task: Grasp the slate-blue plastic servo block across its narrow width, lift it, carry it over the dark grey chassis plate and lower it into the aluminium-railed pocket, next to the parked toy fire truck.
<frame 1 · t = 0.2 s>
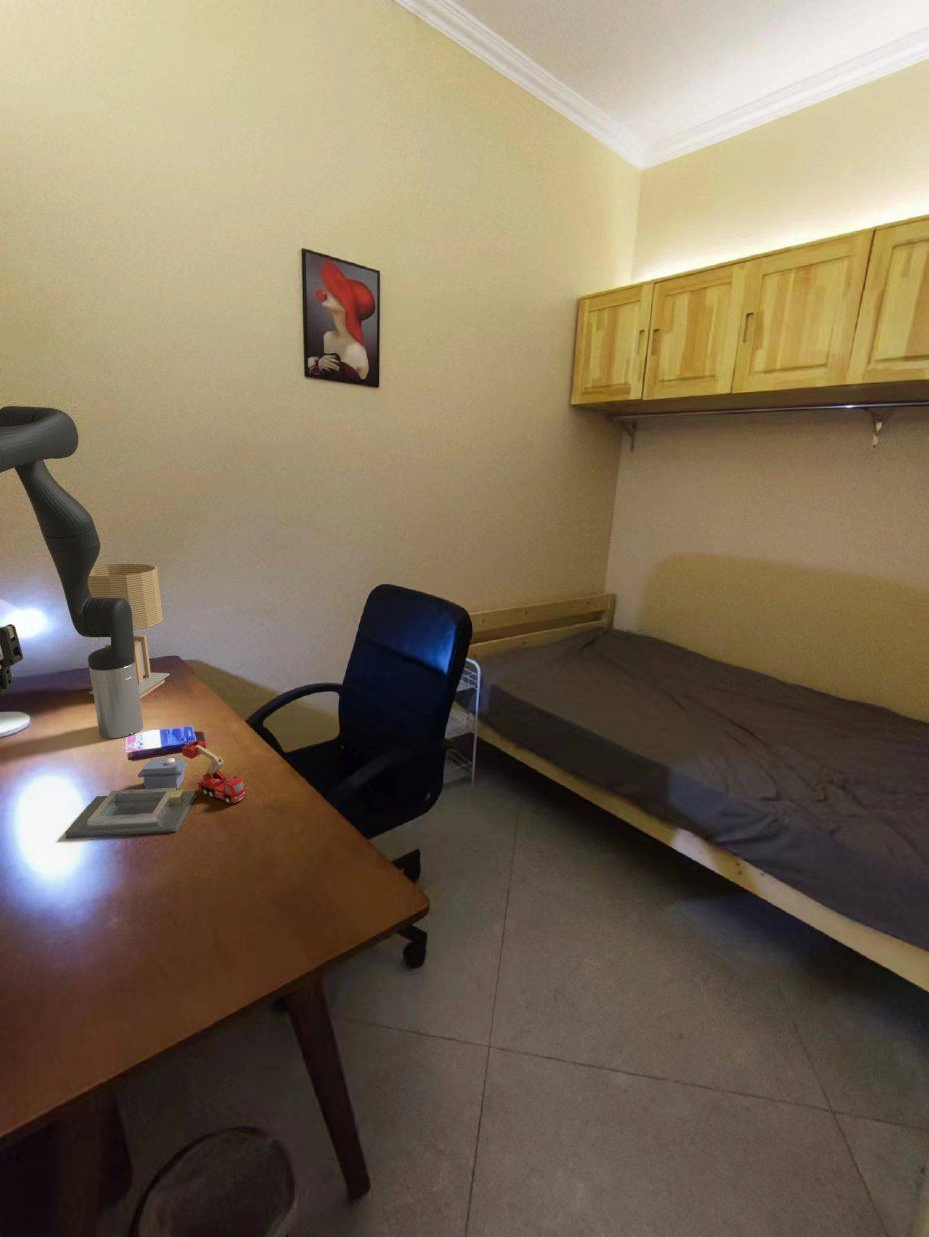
chassis: (135, 816, 101), on the table
toy fire truck: (216, 793, 109), on the table
desk lamp: (132, 690, 156), on the table
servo: (165, 784, 111), on the table
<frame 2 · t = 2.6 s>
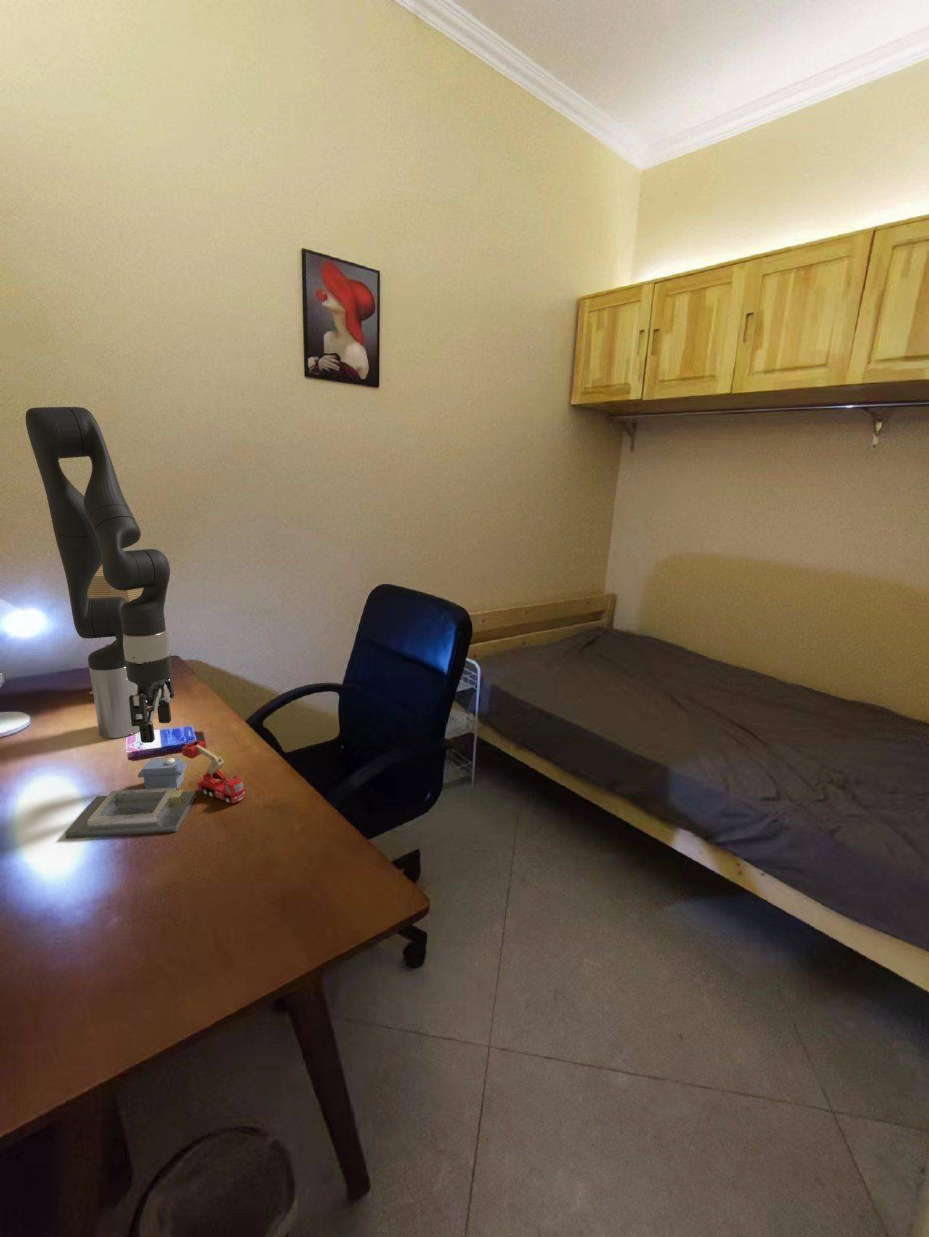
hand: (157, 731, 108), 12 cm above the table, fingers open, 8 cm apart
nothing on the table moved.
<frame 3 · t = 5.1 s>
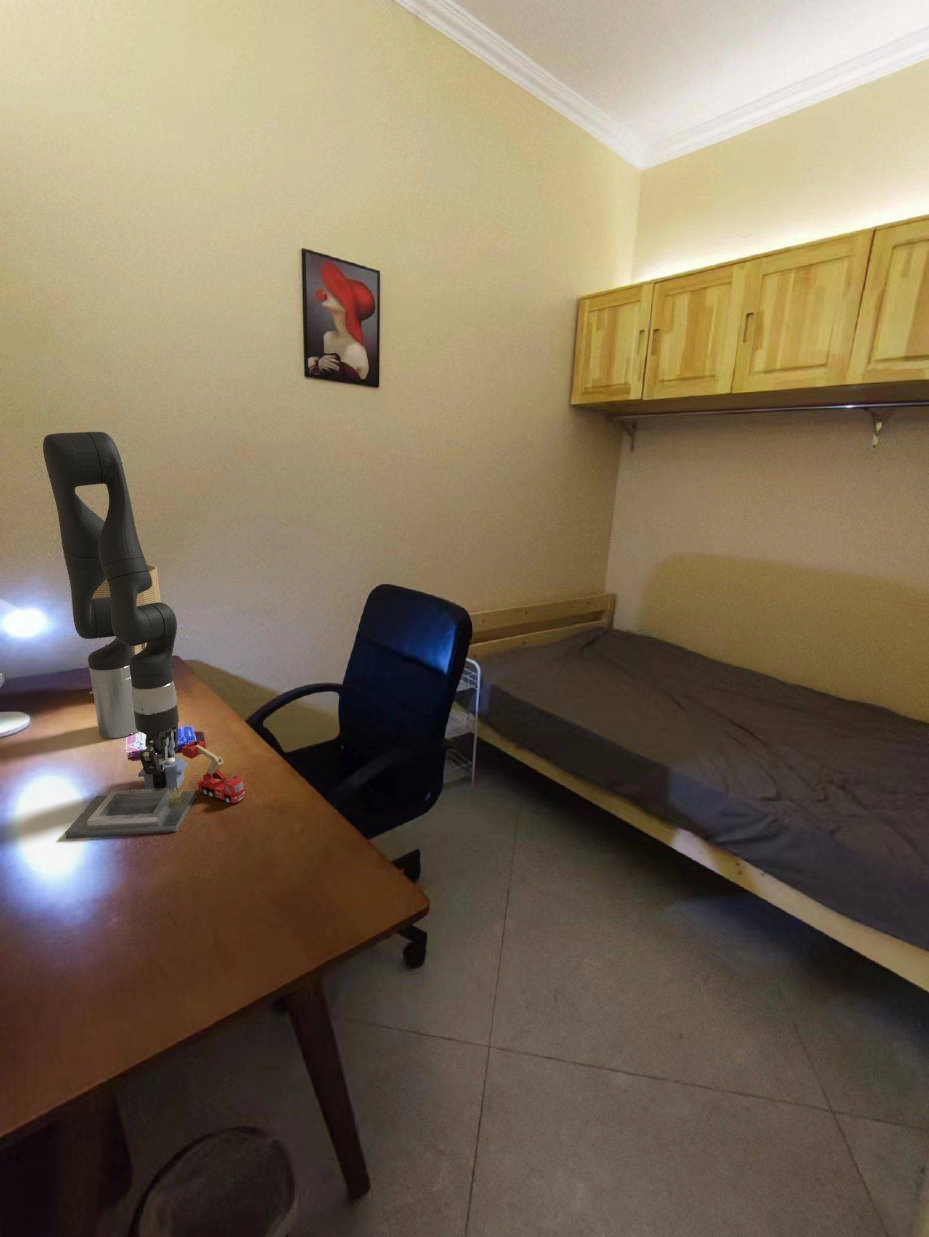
hand: (164, 780, 111), 1 cm above the table, fingers closed on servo, 4 cm apart
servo: (165, 784, 111), on the table, touching gripper
everything else where it was.
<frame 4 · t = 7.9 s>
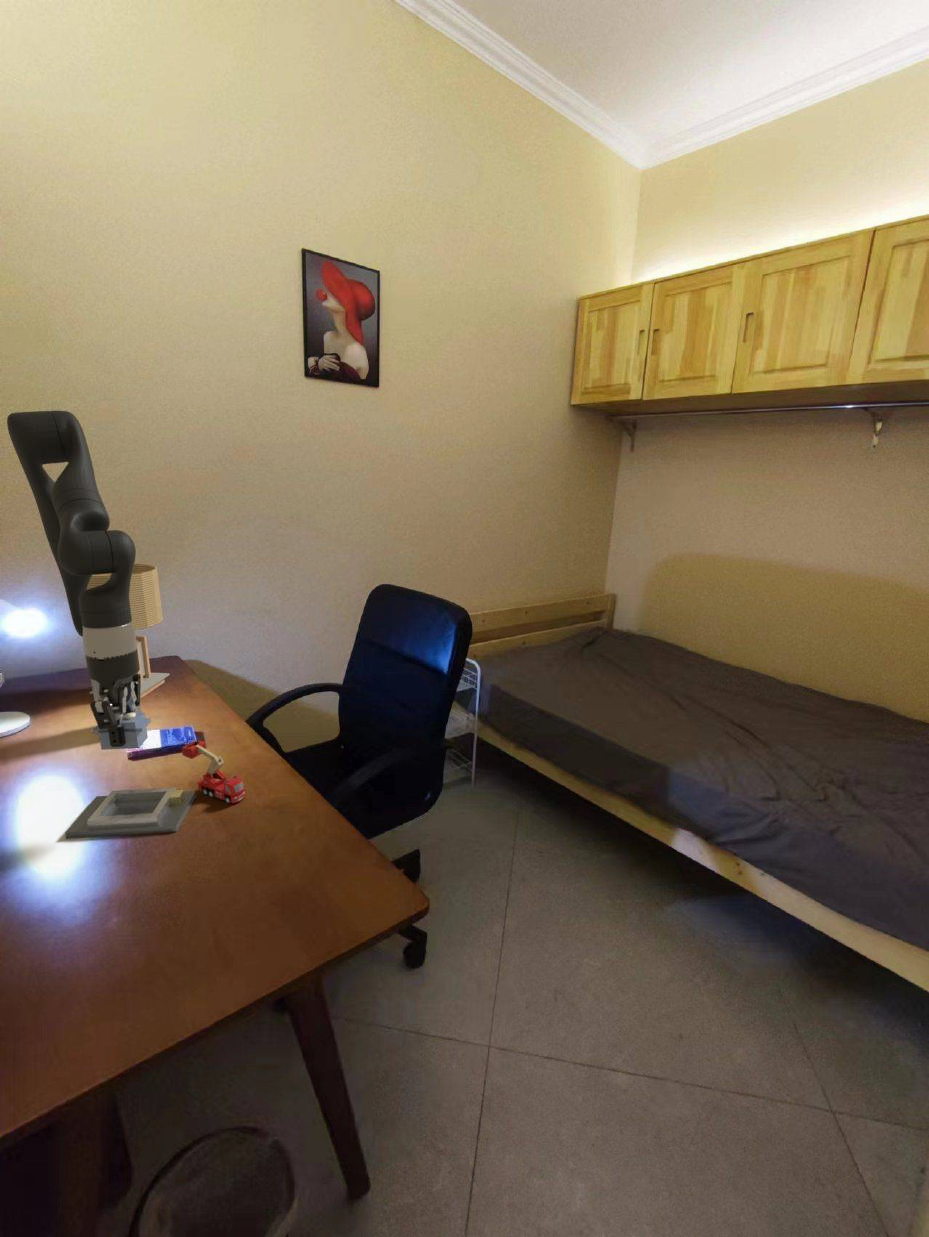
hand: (124, 739, 97), 16 cm above the table, fingers closed on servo, 4 cm apart
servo: (125, 743, 97), point 15 cm above the table, touching gripper
everything else where it was.
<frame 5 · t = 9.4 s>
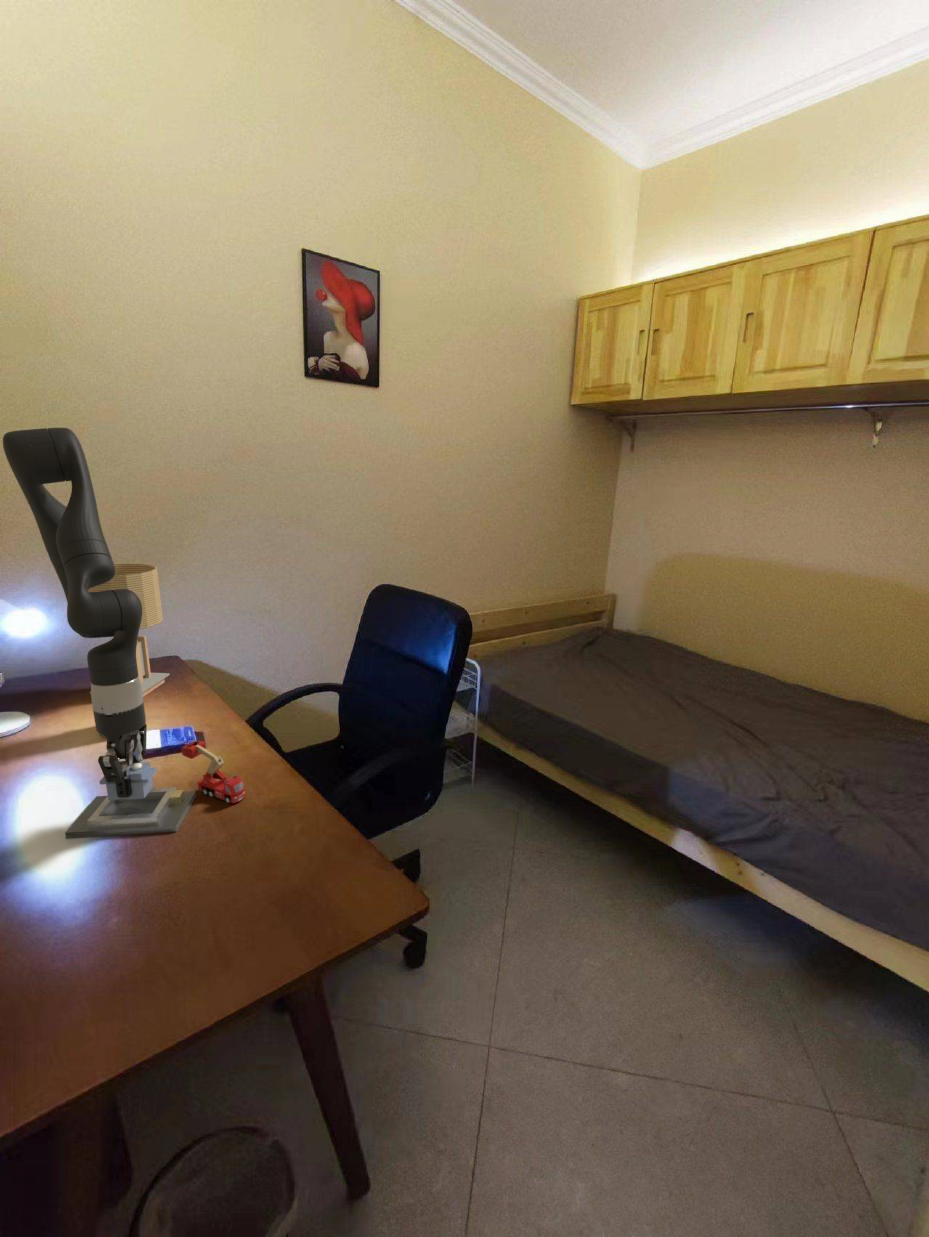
hand: (130, 788, 99), 6 cm above the table, fingers closed on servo, 4 cm apart
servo: (131, 792, 99), point 5 cm above the table, touching gripper
everything else where it was.
when the fingers open (3 cm above the table, at t = 10.7 s): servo drops 1 cm, resting on chassis.
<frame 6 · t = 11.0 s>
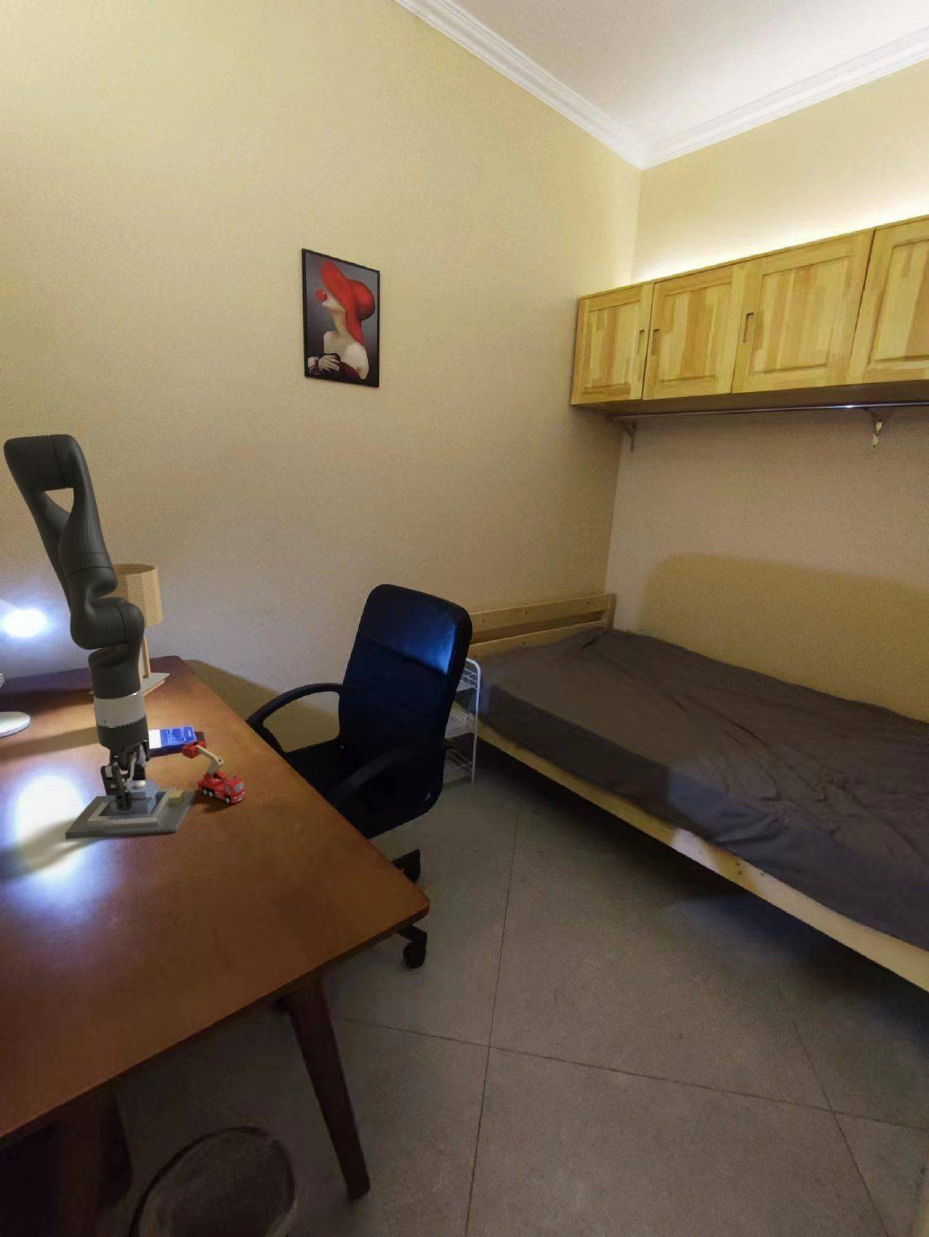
hand: (132, 798, 100), 4 cm above the table, fingers open, 6 cm apart
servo: (134, 810, 101), point 1 cm above the table, touching chassis
everything else where it was.
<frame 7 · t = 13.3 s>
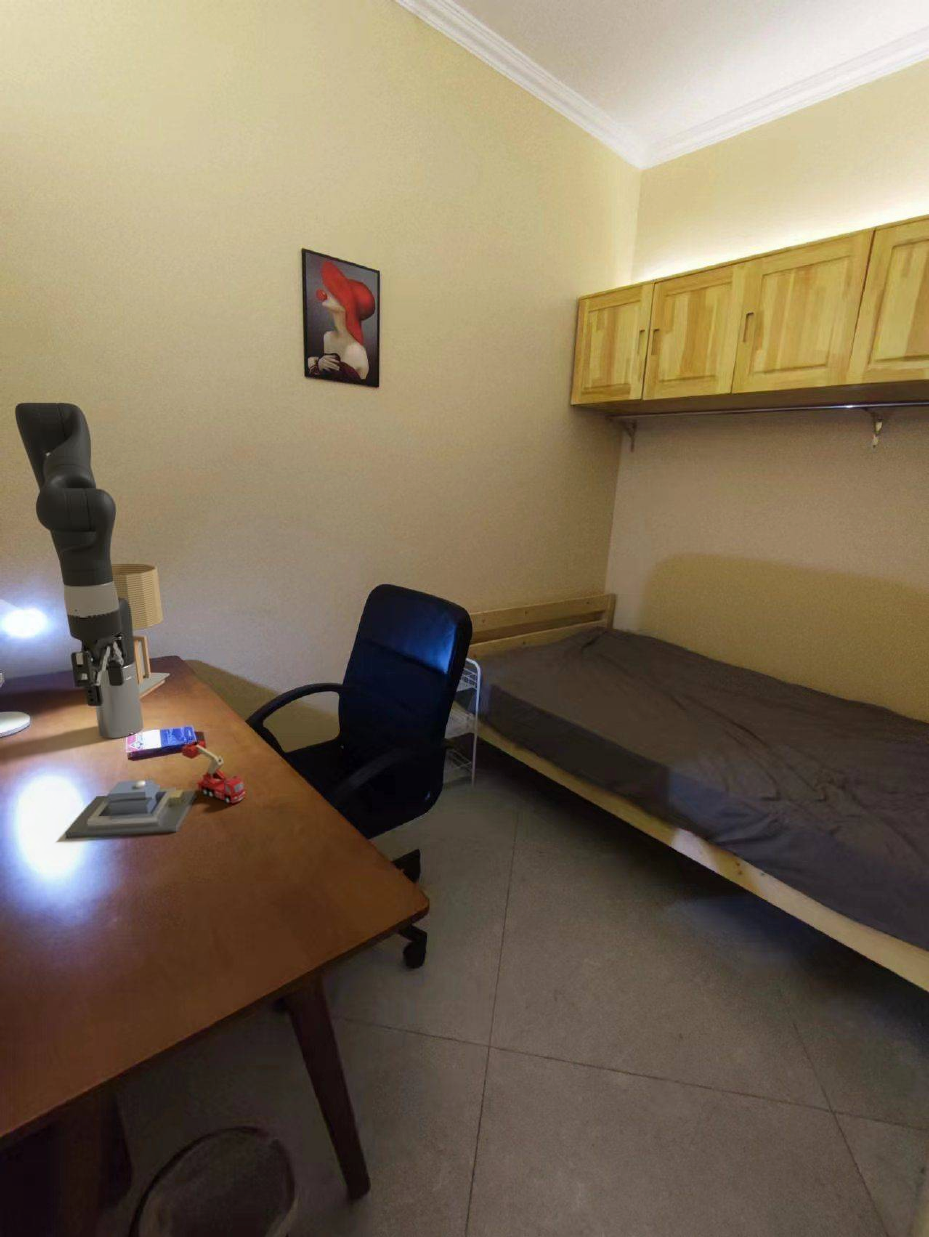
hand: (107, 694, 97), 23 cm above the table, fingers open, 8 cm apart
nothing on the table moved.
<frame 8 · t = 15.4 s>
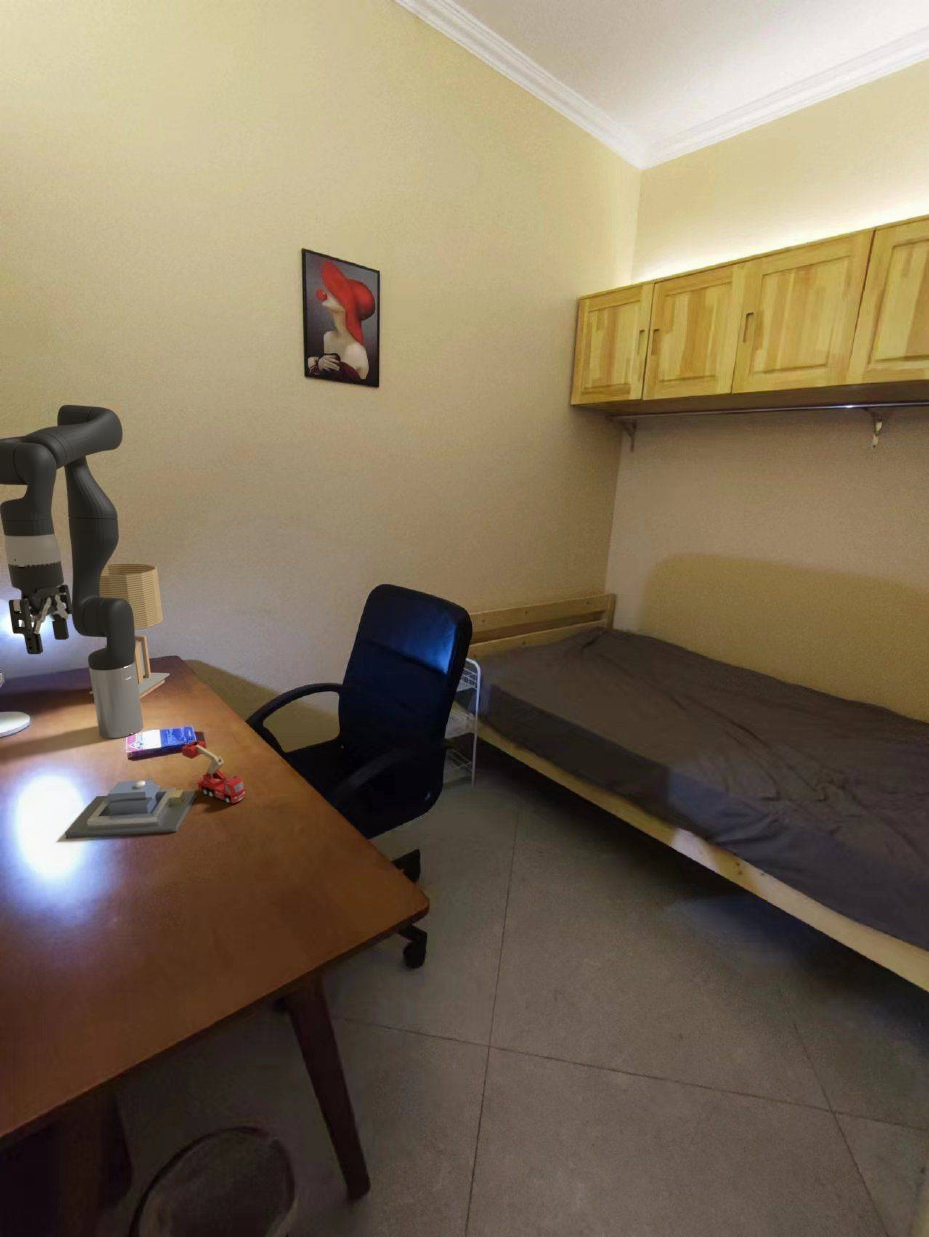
hand: (49, 646, 101), 30 cm above the table, fingers open, 8 cm apart
nothing on the table moved.
at the end: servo 0.0 cm off-centre on the chassis, point 1.2 cm above the chassis's base; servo tilted 0°; the gripper is holding nothing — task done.
